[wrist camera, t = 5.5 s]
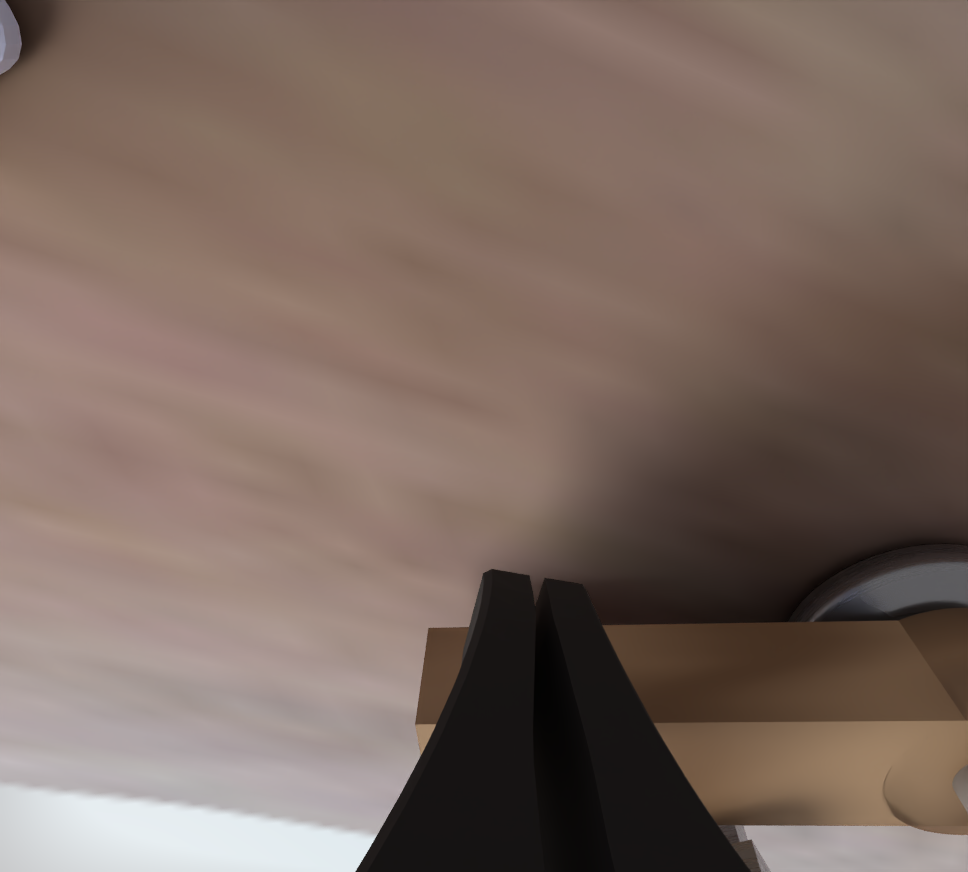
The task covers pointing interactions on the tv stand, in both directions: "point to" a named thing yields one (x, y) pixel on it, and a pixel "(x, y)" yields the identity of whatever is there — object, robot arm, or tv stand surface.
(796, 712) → the link
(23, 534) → the tv stand surface
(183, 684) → the tv stand surface
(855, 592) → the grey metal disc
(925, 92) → the tv stand surface
